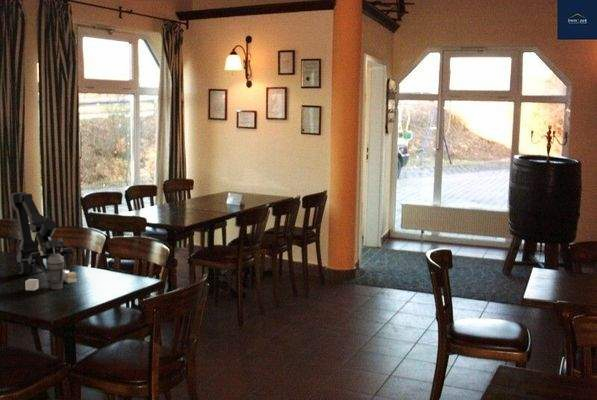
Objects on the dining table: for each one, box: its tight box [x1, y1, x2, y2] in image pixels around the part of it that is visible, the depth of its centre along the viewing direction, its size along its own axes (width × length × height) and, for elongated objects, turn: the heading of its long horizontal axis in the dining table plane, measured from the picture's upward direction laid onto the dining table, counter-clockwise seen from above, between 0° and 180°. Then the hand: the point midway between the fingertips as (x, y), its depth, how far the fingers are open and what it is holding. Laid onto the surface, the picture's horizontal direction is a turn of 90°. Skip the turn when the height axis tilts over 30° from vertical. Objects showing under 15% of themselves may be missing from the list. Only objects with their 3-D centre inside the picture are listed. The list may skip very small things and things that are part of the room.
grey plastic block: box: [24, 278, 40, 291], centre depth 283 cm, size 4×4×4 cm
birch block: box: [64, 271, 78, 284], centre depth 296 cm, size 4×4×4 cm
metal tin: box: [63, 268, 70, 282], centre depth 299 cm, size 6×6×4 cm
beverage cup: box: [46, 247, 65, 290], centre depth 284 cm, size 7×7×20 cm
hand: (57, 271), depth 283 cm, fingers open, 9 cm apart
